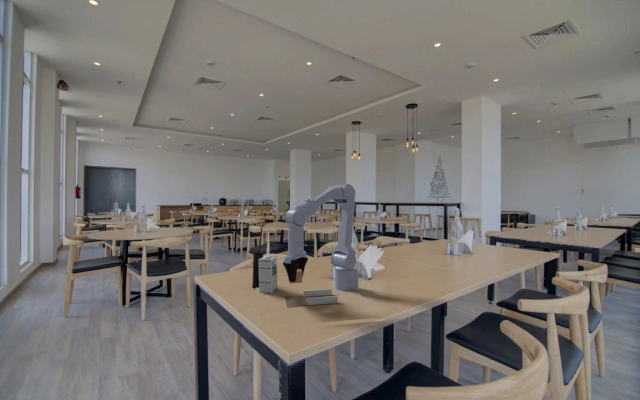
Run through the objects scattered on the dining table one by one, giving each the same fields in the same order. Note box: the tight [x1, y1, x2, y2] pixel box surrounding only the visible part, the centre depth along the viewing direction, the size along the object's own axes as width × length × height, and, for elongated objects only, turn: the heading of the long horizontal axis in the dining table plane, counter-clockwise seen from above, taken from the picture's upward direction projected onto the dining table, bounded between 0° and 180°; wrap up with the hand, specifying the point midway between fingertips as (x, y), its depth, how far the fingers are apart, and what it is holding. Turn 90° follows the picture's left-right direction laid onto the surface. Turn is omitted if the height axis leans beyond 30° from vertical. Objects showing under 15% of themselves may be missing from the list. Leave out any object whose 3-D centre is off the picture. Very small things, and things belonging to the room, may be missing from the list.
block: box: [288, 269, 303, 284], centre depth 108 cm, size 4×4×4 cm
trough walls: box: [302, 288, 339, 305], centre depth 110 cm, size 11×10×2 cm
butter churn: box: [251, 222, 264, 289], centre depth 129 cm, size 9×10×28 cm
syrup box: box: [258, 255, 278, 294], centre depth 121 cm, size 6×6×14 cm
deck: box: [284, 294, 339, 309], centre depth 109 cm, size 18×12×1 cm, turn 101°
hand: (296, 279), depth 108 cm, fingers closed on block, 6 cm apart
